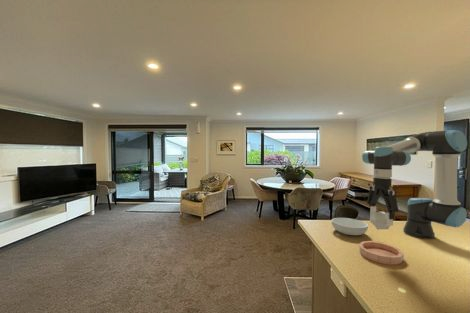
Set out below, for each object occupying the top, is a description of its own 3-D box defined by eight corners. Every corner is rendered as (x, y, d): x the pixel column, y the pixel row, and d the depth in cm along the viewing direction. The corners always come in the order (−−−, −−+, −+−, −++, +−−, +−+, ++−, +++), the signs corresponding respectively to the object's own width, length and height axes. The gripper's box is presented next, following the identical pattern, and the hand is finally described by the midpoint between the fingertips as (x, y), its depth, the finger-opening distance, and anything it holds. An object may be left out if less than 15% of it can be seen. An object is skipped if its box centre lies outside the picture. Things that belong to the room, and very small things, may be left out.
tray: (381, 246, 119) (382, 240, 119) (412, 263, 101) (412, 256, 101) (351, 248, 117) (351, 241, 117) (377, 265, 99) (377, 258, 99)
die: (392, 234, 102) (398, 215, 105) (374, 223, 104) (381, 205, 106) (380, 234, 110) (386, 217, 113) (364, 224, 112) (370, 207, 114)
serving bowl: (368, 231, 142) (368, 220, 142) (367, 242, 125) (367, 230, 124) (333, 225, 153) (333, 215, 153) (328, 234, 136) (328, 223, 136)
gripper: (359, 175, 118) (358, 215, 119) (394, 180, 96) (393, 230, 97) (372, 175, 119) (371, 215, 120) (409, 180, 97) (408, 229, 98)
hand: (380, 221), depth 108 cm, fingers closed on die, 10 cm apart
